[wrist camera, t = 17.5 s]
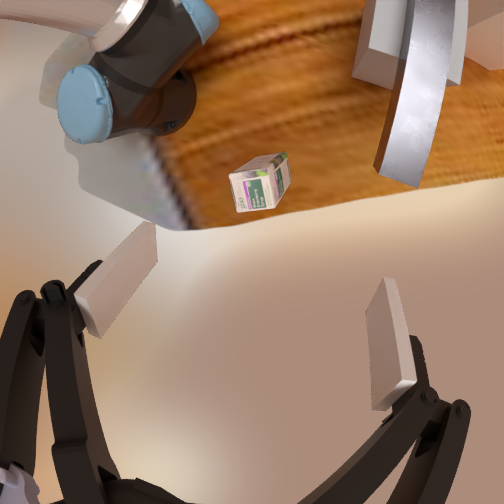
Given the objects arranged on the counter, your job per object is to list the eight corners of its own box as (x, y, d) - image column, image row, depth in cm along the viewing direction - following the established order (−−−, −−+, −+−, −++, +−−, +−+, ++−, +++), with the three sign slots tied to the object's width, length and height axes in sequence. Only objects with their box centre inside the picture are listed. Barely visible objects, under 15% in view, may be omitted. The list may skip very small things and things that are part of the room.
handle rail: (372, 165, 23) (378, 174, 20) (411, -59, 10) (417, -74, 7) (407, 178, 23) (417, 188, 20) (443, -45, 9) (453, -59, 6)
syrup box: (292, 182, 50) (277, 209, 38) (260, 186, 52) (236, 214, 40) (286, 151, 48) (269, 167, 35) (254, 156, 50) (226, 174, 37)
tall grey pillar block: (351, 77, 39) (368, 47, 18) (363, 8, 31) (382, -60, 11) (402, 94, 37) (459, 85, 17) (414, 25, 30) (467, -25, 10)
